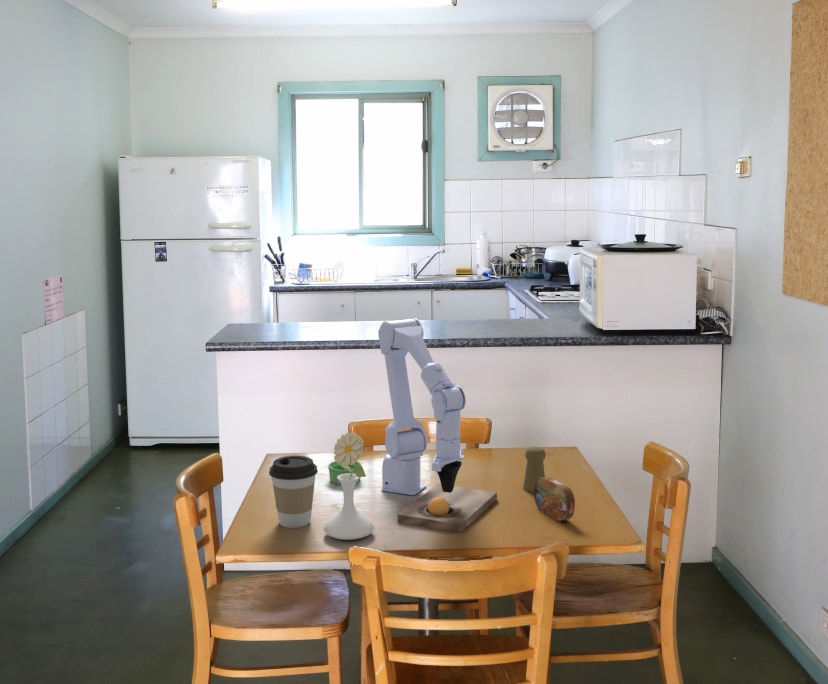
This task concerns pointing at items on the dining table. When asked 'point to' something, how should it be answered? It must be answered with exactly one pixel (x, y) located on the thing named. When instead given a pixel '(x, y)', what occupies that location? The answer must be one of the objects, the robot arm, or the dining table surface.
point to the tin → (554, 498)
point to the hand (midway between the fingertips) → (447, 491)
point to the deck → (461, 508)
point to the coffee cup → (293, 489)
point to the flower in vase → (349, 492)
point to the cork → (533, 467)
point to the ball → (438, 506)
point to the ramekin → (340, 471)
